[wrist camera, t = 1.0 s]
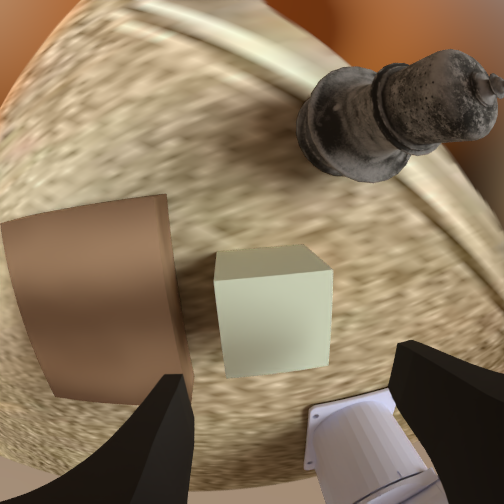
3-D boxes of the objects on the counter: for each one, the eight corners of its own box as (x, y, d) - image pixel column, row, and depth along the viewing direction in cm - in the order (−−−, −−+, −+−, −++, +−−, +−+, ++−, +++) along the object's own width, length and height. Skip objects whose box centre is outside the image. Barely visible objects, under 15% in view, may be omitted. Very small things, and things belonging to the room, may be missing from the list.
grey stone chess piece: (397, 133, 16) (561, 113, 4) (346, 201, 17) (518, 249, 5) (329, 67, 14) (457, -40, 3) (269, 135, 15) (373, 43, 4)
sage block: (304, 320, 18) (328, 365, 13) (225, 329, 18) (226, 378, 13) (303, 244, 17) (333, 269, 12) (216, 251, 17) (213, 280, 12)
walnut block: (194, 376, 18) (190, 405, 16) (70, 373, 18) (55, 396, 15) (166, 193, 15) (153, 197, 13) (27, 216, 15) (0, 223, 12)
